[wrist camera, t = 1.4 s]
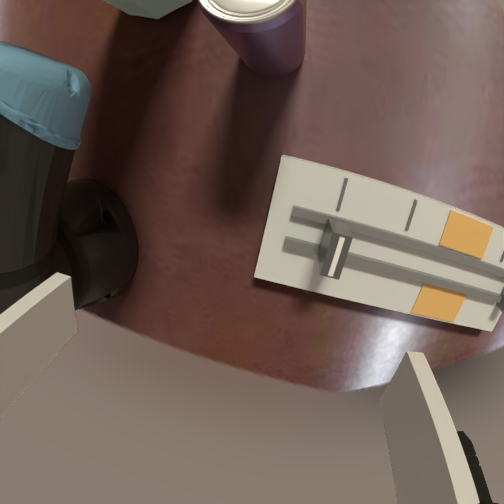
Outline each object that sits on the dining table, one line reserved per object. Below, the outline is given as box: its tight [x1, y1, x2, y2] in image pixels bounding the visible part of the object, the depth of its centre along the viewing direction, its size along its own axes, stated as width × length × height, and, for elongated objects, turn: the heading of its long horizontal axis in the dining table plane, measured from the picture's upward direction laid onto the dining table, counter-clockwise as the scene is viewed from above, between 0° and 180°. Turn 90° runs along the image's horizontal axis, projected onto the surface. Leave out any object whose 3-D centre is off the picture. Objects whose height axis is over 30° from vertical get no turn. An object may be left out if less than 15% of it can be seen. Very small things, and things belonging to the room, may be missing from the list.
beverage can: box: [198, 0, 306, 77], centre depth 18 cm, size 6×6×15 cm
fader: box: [318, 218, 353, 280], centre depth 26 cm, size 2×4×6 cm, turn 168°
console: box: [254, 155, 504, 332], centre depth 28 cm, size 30×12×4 cm, turn 78°
